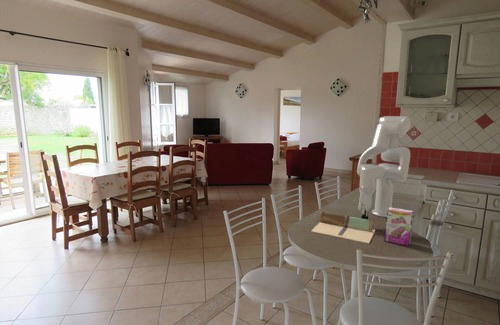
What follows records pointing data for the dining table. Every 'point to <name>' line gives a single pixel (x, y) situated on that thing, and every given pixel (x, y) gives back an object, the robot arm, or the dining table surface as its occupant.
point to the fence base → (334, 219)
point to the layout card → (344, 232)
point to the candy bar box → (398, 226)
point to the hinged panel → (361, 223)
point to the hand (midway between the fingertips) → (364, 222)
